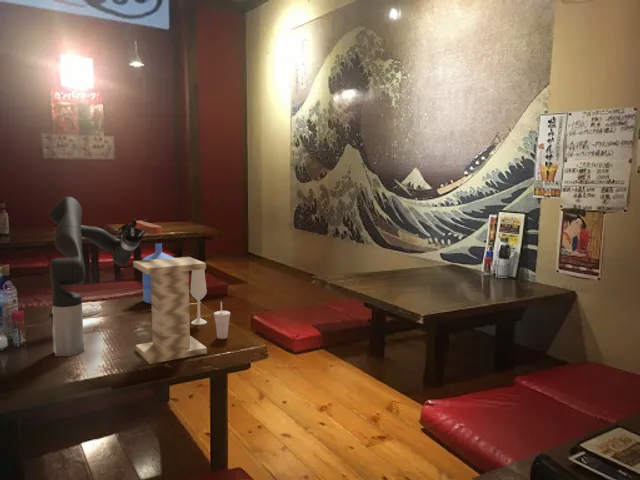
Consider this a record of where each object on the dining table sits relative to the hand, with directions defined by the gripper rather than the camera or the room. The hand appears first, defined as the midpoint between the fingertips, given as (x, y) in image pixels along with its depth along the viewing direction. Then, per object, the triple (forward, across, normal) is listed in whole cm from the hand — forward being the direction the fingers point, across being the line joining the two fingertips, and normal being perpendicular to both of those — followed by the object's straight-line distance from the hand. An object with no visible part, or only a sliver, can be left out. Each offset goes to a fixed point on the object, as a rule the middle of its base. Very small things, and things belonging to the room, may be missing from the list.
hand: (140, 221), depth 209 cm
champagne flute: (-19, +22, +40) cm, 49 cm away
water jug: (-59, +20, +17) cm, 64 cm away
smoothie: (+2, +22, +52) cm, 56 cm away
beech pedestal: (+7, 0, +54) cm, 55 cm away
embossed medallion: (-56, -18, +18) cm, 62 cm away
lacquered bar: (+5, 0, +6) cm, 8 cm away
